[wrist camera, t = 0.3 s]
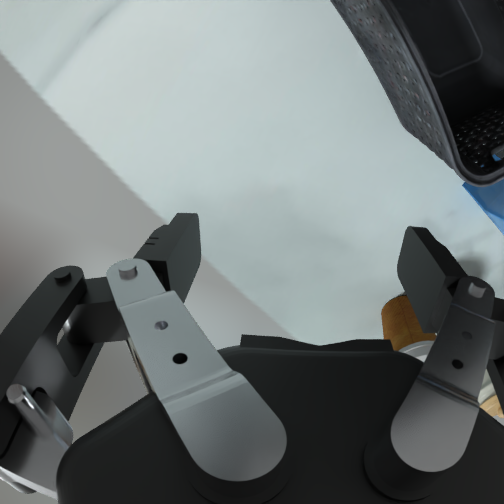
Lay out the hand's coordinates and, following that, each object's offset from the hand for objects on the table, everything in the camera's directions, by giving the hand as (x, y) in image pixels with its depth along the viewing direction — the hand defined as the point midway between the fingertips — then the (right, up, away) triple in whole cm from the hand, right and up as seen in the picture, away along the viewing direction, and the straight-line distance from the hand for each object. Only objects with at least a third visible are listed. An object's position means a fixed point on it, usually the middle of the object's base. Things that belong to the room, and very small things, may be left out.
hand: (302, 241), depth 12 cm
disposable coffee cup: (+21, -9, +35) cm, 42 cm away
